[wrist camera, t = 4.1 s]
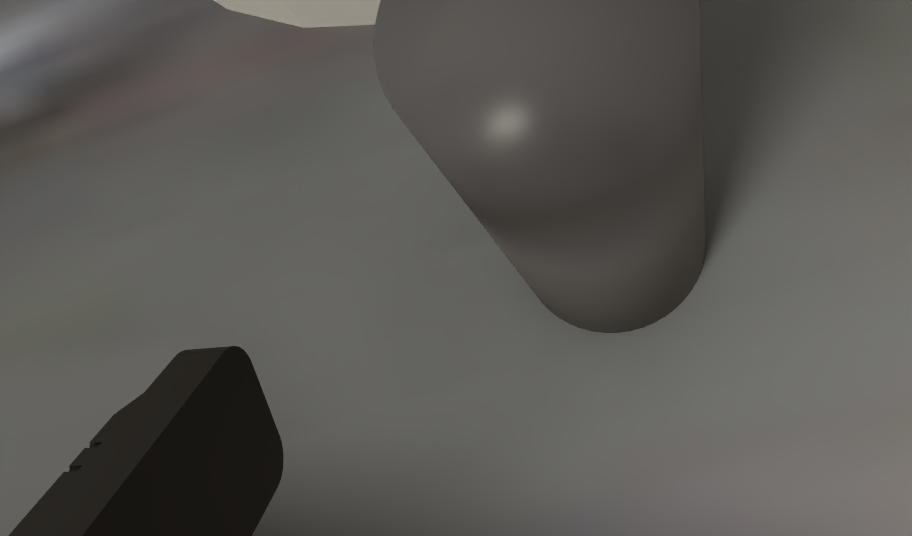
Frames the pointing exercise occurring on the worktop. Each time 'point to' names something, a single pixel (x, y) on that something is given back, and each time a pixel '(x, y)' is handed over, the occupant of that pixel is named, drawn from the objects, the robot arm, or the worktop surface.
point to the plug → (564, 139)
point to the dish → (309, 11)
